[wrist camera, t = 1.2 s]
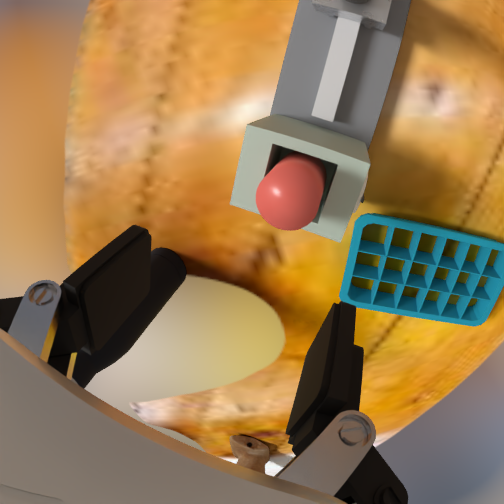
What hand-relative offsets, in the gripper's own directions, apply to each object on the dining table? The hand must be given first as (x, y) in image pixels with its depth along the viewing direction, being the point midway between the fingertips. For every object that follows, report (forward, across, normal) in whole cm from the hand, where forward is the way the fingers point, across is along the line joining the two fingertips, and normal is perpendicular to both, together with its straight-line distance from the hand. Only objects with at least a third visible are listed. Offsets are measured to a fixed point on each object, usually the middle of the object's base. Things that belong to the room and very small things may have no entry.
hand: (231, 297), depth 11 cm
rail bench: (+24, 0, -10) cm, 26 cm away
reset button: (+16, 0, 0) cm, 16 cm away
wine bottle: (+24, +15, +21) cm, 35 cm away
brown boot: (+24, -10, +69) cm, 74 cm away
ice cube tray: (+24, -17, +7) cm, 31 cm away
